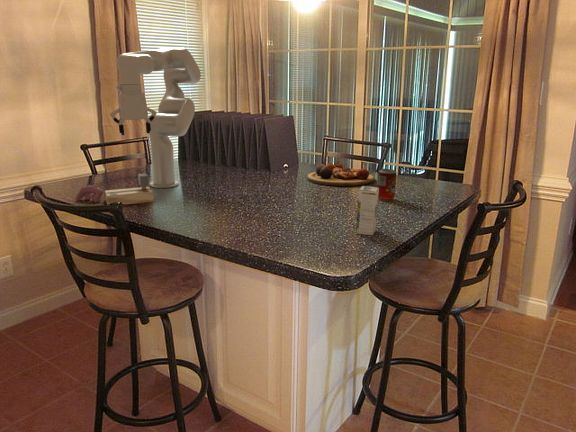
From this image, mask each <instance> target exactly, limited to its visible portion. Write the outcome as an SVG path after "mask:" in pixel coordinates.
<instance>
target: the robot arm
mask: <svg viewBox="0 0 576 432" xmlns="http://www.w3.org/2000/svg"><path fill="white" fill-rule="evenodd" d="M116 67H117V70H118V75H119V85H116V90H117V91H120V92H119V93H118V108H116V109H114V110H113V111H112V112H110V113H109V115H110V117H111V119H112V120H113V121H114V122H115V123H117V124H118V130H119V134H120V135H122V136H125V129H124V127H125V126H124V124H123V123H124V122H125V121H131V120H145V121H146V122H145V130H146V131H145V133H146V134H148V136H149V137H148V138H149V142H150V143H149V144H150V153H151V167H152V170H151V171H152V181H150V182H149V187H150V188H151V187H152V188H155V189H167V188H169V189H170V188H174V187H178V186H179V181H178V180H176V173H175V155H174V154H175V153H174V144H173V142H172V141H171V139H170V138H169V136H170V137H183V136H184V135H186V134H187V132H188V130H189V128H190V126H191V125H192V124H191V123H192V121H193V120H194V116H195V111H196V110H195V109H196V107H195V104H194V103H195V102H193V100H192V98H189V97H185V93H184V91H183V90H182V88H181V87H180V86H179V84H184V85H193V84H197V83H199V82H200V81H201V78H202V77H201V76H202V75H201V70H200V67H199V65H198V63H197V61H196V60H195V58H194V56H193V55H192V54H191V52H190V51H189V50H188V49H187V48H185V47H163V48H162V47H161V48H157V49H150V50H142V51H136V52H135V51H134V52H133V51H132V52H126V53H125V52H124V53H120V55H118V56H117V59H116ZM160 71H163V80H164V86H165V92H164V95H163V97H162V98H161V100H160V102H159V105H158V109H157V111H158V113H157V111H156V110H154V109H152V108H150V107H149V106H148V104H147V99H146V95H145V92H143V91H142V82H141V81H142V80H141V75H149V74H151V73H153V72H160ZM149 113H151V114H150V115H149ZM117 114H119V119H118V118H117V117H116V115H117Z"/></svg>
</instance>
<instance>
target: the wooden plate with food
mask: <svg viewBox="0 0 576 432" xmlns="http://www.w3.org/2000/svg"><path fill="white" fill-rule="evenodd" d="M306 179H307V180H308V182H310V183H314V184H317V185H325V186H334V187H335V186H336V187H353V186H365V185H367V184H371V183H373V182H374V180H375V177H374V175H373V174H371V173H370V172H369V171H368V169H366V168H358V169H353V168H350V167H348V166H344V167H343V164H342V163H341V162H339V161H337V162H335V163H334V164H333V163H327V164H323V163H320V164H319V165H318V166H317V167H316V169H315V171H314V172H310V173H309V174H307V176H306Z"/></svg>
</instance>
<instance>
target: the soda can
mask: <svg viewBox="0 0 576 432" xmlns="http://www.w3.org/2000/svg"><path fill="white" fill-rule="evenodd" d="M397 174H398V173H397V171H396V170H395V169H392V168H381V169H380V170H378V175H377V176H378V178H377V188H379V193H378V201H380V202H381V201H382V202H392V201H393V199H394V198H395V195H396V184H397Z"/></svg>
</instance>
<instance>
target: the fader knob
mask: <svg viewBox="0 0 576 432" xmlns="http://www.w3.org/2000/svg"><path fill="white" fill-rule="evenodd" d="M137 179H138V185H139V186H140V187H141V188H142V189H146V187H150V183H149V175H148V174H147V173H138V174H137Z"/></svg>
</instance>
